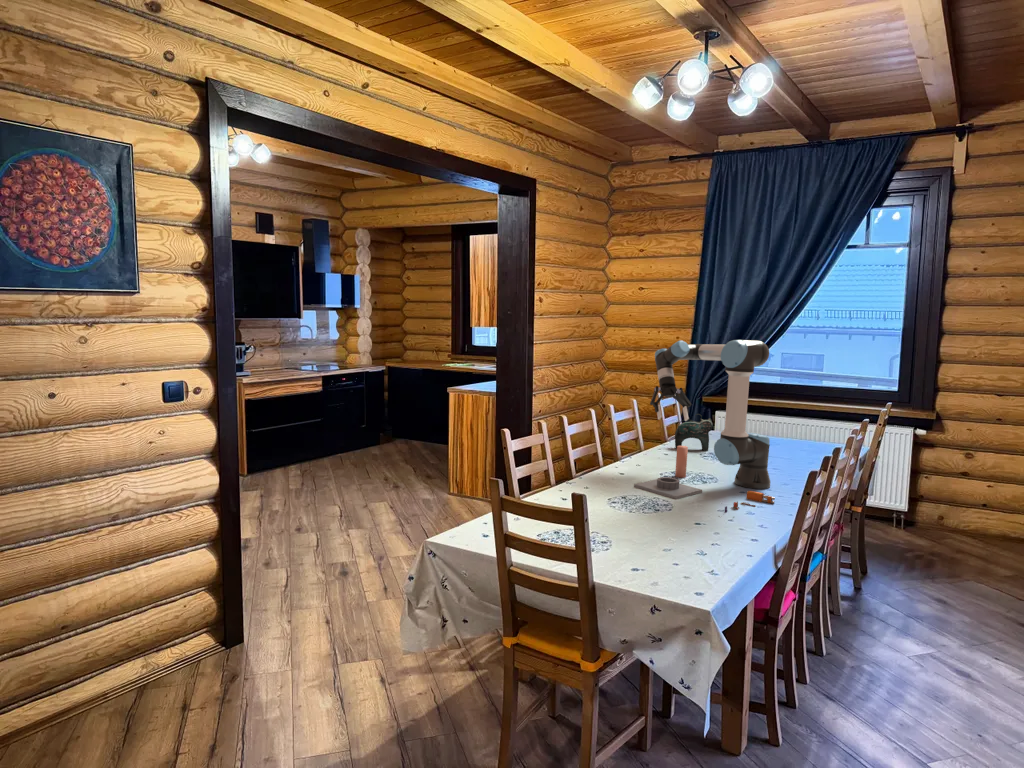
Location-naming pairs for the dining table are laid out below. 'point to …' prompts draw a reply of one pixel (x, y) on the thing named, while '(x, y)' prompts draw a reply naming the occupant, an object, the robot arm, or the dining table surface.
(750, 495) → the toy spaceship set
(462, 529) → the dining table surface
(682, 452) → the pink cylindrical peg
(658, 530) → the dining table surface
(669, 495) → the cradle
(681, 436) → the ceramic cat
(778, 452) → the dining table surface
